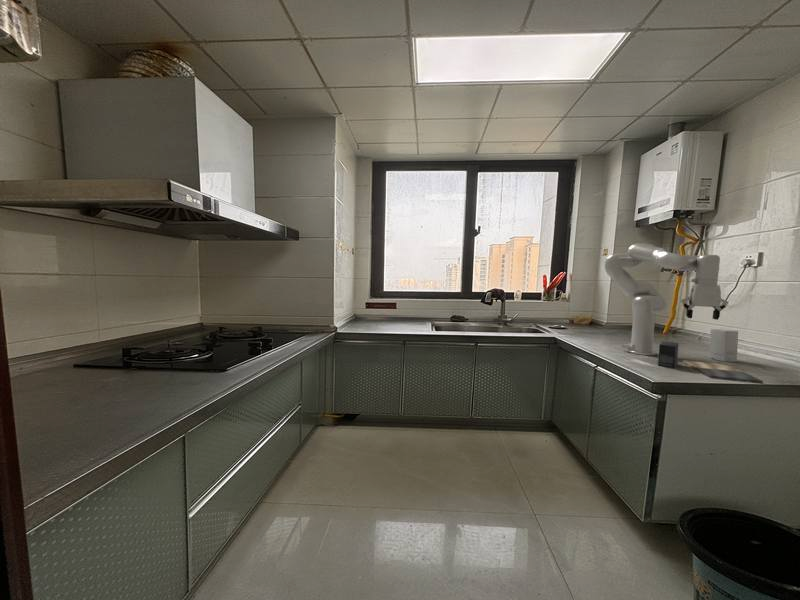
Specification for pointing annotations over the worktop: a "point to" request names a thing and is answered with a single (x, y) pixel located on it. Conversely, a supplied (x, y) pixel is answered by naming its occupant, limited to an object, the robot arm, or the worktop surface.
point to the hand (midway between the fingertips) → (702, 318)
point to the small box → (668, 354)
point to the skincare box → (723, 345)
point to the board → (721, 371)
